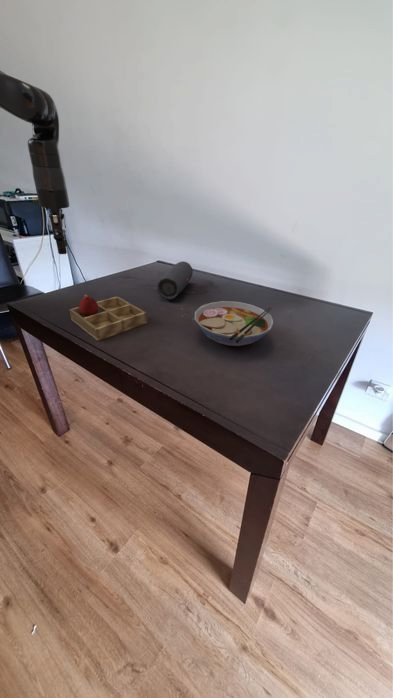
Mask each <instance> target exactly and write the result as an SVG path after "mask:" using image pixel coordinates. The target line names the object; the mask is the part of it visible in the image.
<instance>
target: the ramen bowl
mask: <svg viewBox="0 0 393 698" xmlns="http://www.w3.org/2000/svg"><path fill="white" fill-rule="evenodd" d="M272 308H273V307H268V308H267V309H266V310H264V309H263V308H260V307H259V306H255V305H253V304H250V303H245V302H242V301H241V302H240V301H232V300H231V301H228V300H222V301H214V302H210V303H205V304H203V305H201V306H199V307H198V308H197V309H196V310H195V311H194V320H195V323H196V324H197V326H198V327H199V329H200V330H201V331H202V332H203V334H204V335H205V336H206V337H207V338H209V339H211V340H212V341H214V342H216V343H218V344H222V345H226V346H233V347H241V346H245V345H250V344H253V343H255V342H257V341H258V340H260V339H262V338H263V337H265V336H266V335H267V334H268V333H269V331H270V330H271V329H272V327H273V324H274V320H273V317H272V315H271V314H270V313H269V312H270V311H271V310H272Z"/></svg>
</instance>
